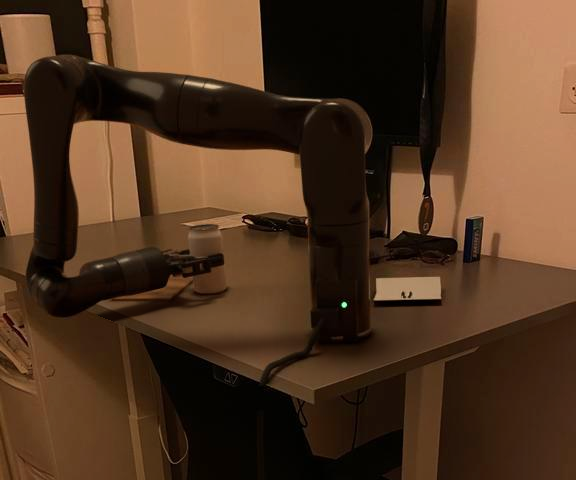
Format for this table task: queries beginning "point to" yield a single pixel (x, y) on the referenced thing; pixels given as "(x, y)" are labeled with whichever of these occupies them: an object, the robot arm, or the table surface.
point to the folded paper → (408, 288)
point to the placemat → (162, 290)
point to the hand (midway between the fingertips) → (210, 255)
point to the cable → (395, 254)
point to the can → (203, 244)
